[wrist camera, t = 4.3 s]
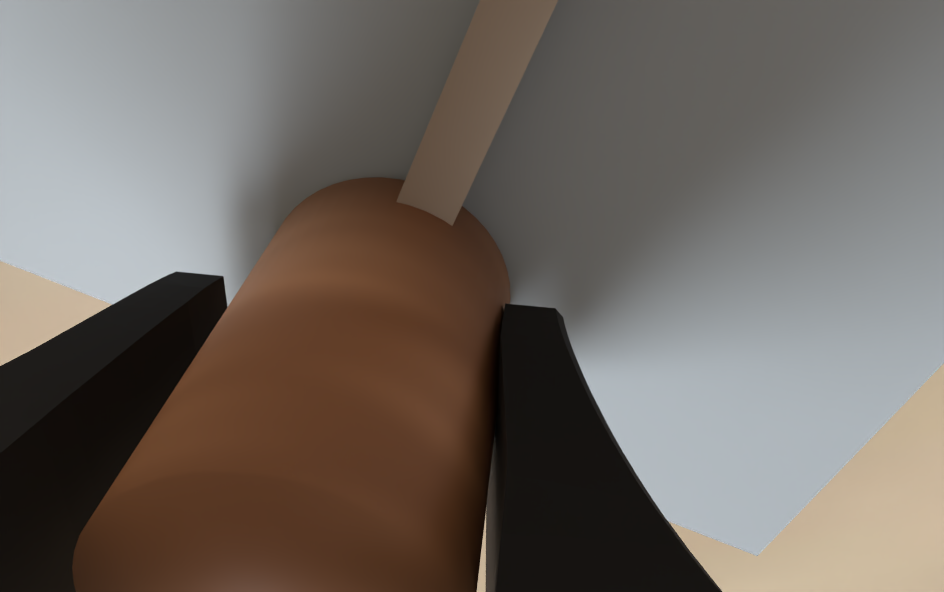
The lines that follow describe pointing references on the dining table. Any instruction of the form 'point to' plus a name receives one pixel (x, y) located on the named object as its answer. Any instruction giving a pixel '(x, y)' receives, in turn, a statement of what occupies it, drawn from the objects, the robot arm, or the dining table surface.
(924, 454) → the dining table surface
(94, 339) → the robot arm
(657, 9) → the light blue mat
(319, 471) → the brown block on rod
